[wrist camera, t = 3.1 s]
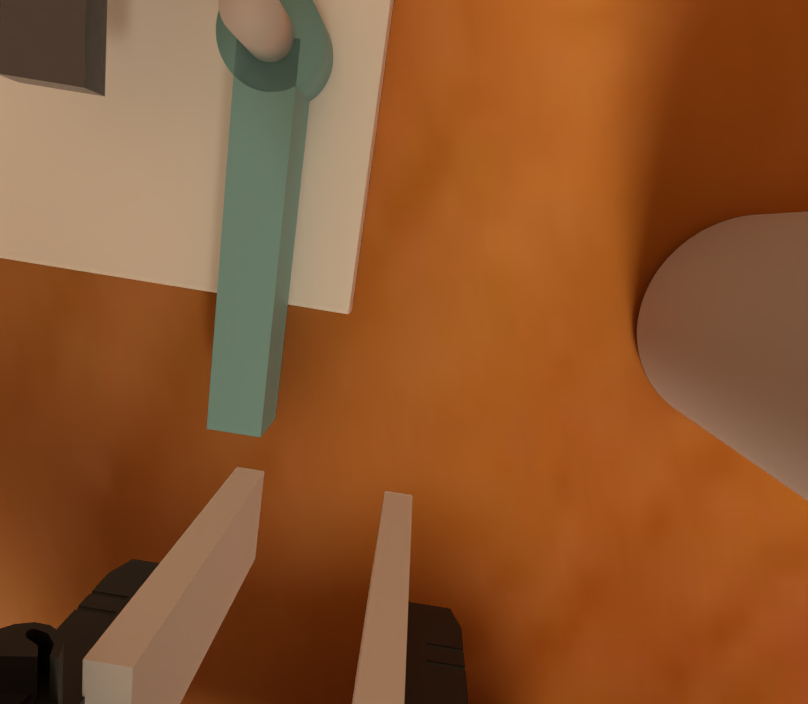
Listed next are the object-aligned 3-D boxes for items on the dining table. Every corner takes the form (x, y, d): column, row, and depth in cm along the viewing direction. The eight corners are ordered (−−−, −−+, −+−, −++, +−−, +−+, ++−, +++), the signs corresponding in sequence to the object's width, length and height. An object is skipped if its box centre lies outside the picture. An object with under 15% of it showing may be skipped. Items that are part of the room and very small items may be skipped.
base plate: (408, -108, 27) (407, -128, 25) (351, 310, 32) (348, 314, 30) (-128, -195, 27) (-160, -220, 25) (-101, 237, 32) (-127, 237, 30)
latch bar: (242, -6, 26) (190, -75, 21) (339, 10, 26) (315, -55, 21) (210, 408, 31) (162, 447, 26) (291, 421, 31) (262, 463, 26)
